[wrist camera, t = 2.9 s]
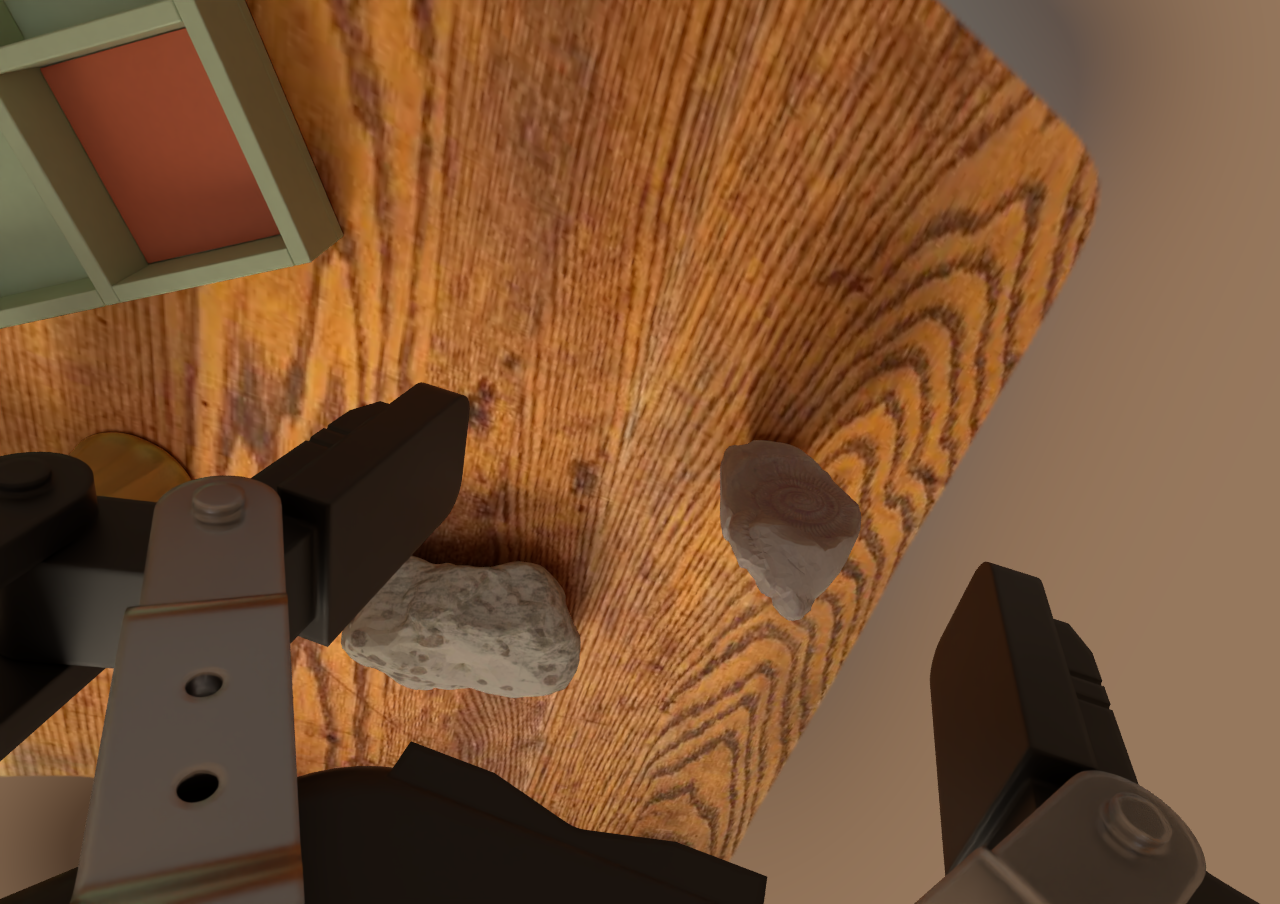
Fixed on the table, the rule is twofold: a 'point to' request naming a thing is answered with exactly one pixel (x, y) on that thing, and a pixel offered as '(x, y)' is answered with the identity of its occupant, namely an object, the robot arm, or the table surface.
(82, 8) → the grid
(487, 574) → the decorative stone
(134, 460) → the vase
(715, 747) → the table surface
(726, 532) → the grey brown rock
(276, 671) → the robot arm
